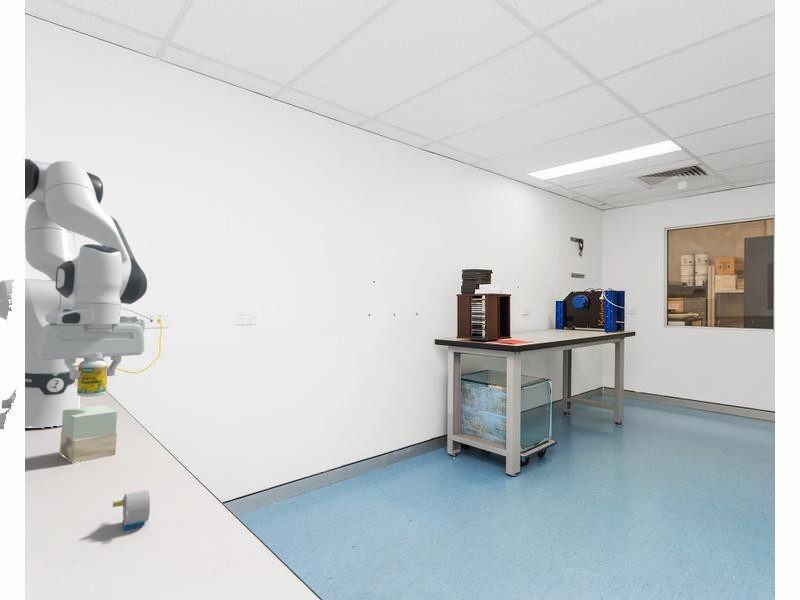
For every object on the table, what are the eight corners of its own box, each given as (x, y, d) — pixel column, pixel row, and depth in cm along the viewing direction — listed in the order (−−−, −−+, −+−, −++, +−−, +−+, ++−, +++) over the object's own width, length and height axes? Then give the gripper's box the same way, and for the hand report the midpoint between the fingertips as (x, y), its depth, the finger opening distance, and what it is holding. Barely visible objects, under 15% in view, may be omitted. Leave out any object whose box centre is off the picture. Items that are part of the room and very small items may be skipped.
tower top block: (61, 432, 97) (63, 410, 97) (102, 426, 103) (104, 405, 103) (72, 440, 92) (74, 417, 92) (115, 433, 98) (117, 411, 98)
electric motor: (109, 520, 70) (111, 489, 70) (143, 513, 73) (145, 483, 73) (112, 540, 64) (115, 506, 64) (149, 531, 67) (151, 499, 67)
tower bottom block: (59, 455, 96) (61, 432, 96) (100, 447, 103) (101, 426, 103) (73, 464, 92) (74, 440, 92) (115, 455, 98) (116, 433, 98)
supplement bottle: (106, 391, 101) (108, 350, 101) (105, 396, 97) (108, 353, 97) (77, 393, 98) (80, 350, 98) (75, 397, 94) (78, 353, 94)
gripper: (139, 316, 108) (135, 371, 108) (36, 314, 91) (31, 379, 91) (151, 317, 105) (147, 374, 104) (46, 315, 88) (41, 384, 88)
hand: (92, 377), depth 98 cm, fingers closed on supplement bottle, 5 cm apart
